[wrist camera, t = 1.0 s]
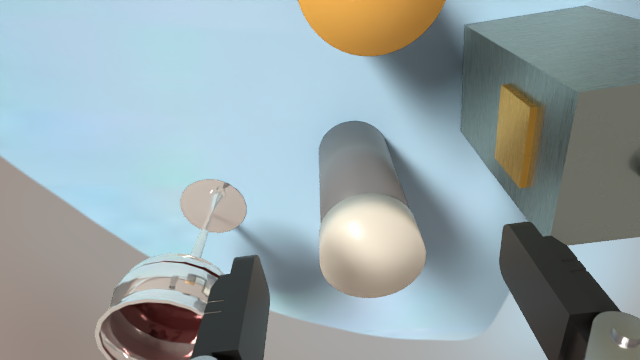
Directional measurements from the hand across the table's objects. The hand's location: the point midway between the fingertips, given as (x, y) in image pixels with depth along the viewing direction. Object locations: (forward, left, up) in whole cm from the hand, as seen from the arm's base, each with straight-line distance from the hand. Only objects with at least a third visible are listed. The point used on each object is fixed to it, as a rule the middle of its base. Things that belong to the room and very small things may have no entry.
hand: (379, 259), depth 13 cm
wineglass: (+7, -11, -15) cm, 20 cm away
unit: (0, +11, -15) cm, 19 cm away
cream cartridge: (+4, 0, -15) cm, 16 cm away
